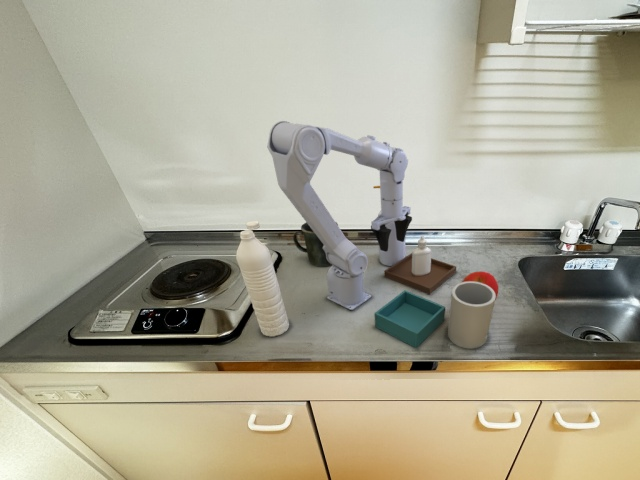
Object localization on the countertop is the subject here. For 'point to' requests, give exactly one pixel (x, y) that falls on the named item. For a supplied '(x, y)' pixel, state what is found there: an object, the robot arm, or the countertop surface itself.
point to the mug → (312, 246)
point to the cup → (470, 314)
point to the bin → (410, 318)
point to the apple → (483, 280)
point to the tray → (422, 283)
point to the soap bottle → (392, 246)
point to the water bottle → (261, 283)
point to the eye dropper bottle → (421, 258)
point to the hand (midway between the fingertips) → (392, 245)
